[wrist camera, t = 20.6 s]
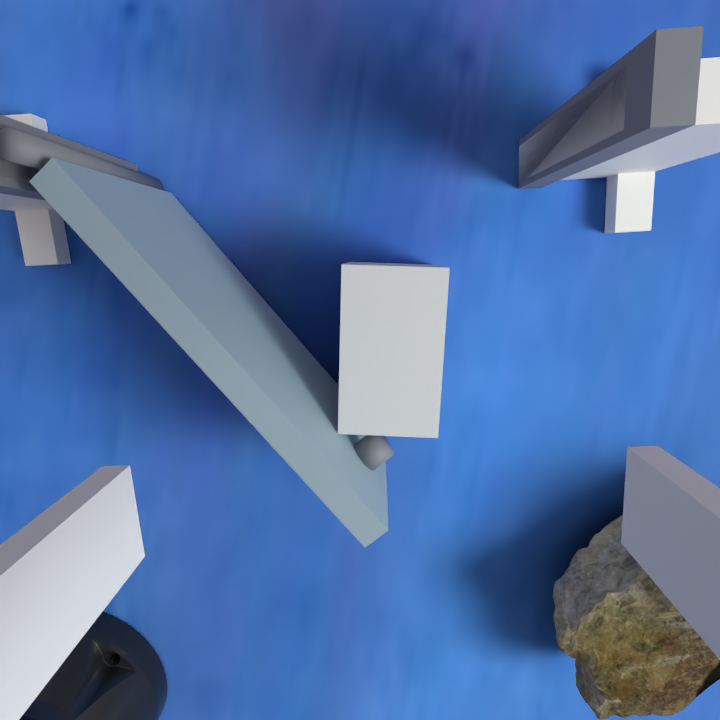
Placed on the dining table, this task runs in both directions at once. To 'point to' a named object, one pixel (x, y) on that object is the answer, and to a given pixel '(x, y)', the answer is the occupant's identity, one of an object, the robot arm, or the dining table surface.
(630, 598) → the rock
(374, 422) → the white rectangular block
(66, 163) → the door
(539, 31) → the dining table surface
